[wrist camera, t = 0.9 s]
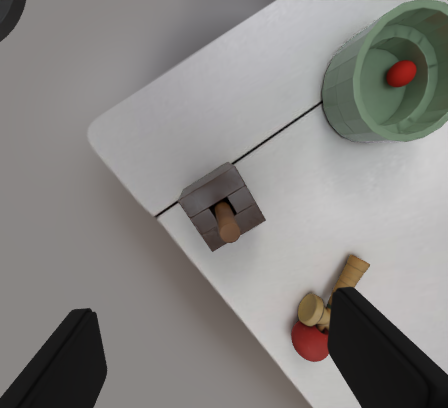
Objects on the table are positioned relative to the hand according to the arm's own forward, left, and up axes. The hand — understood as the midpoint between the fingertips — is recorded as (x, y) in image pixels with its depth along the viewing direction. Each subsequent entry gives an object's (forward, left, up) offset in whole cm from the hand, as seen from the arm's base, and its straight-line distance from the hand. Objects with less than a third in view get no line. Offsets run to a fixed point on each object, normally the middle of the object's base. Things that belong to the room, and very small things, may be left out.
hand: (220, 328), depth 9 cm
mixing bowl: (-1, +26, -24) cm, 36 cm away
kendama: (+25, +7, -24) cm, 36 cm away
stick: (+1, +1, -24) cm, 24 cm away
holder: (+1, +1, -24) cm, 24 cm away
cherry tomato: (-1, +29, -22) cm, 37 cm away
